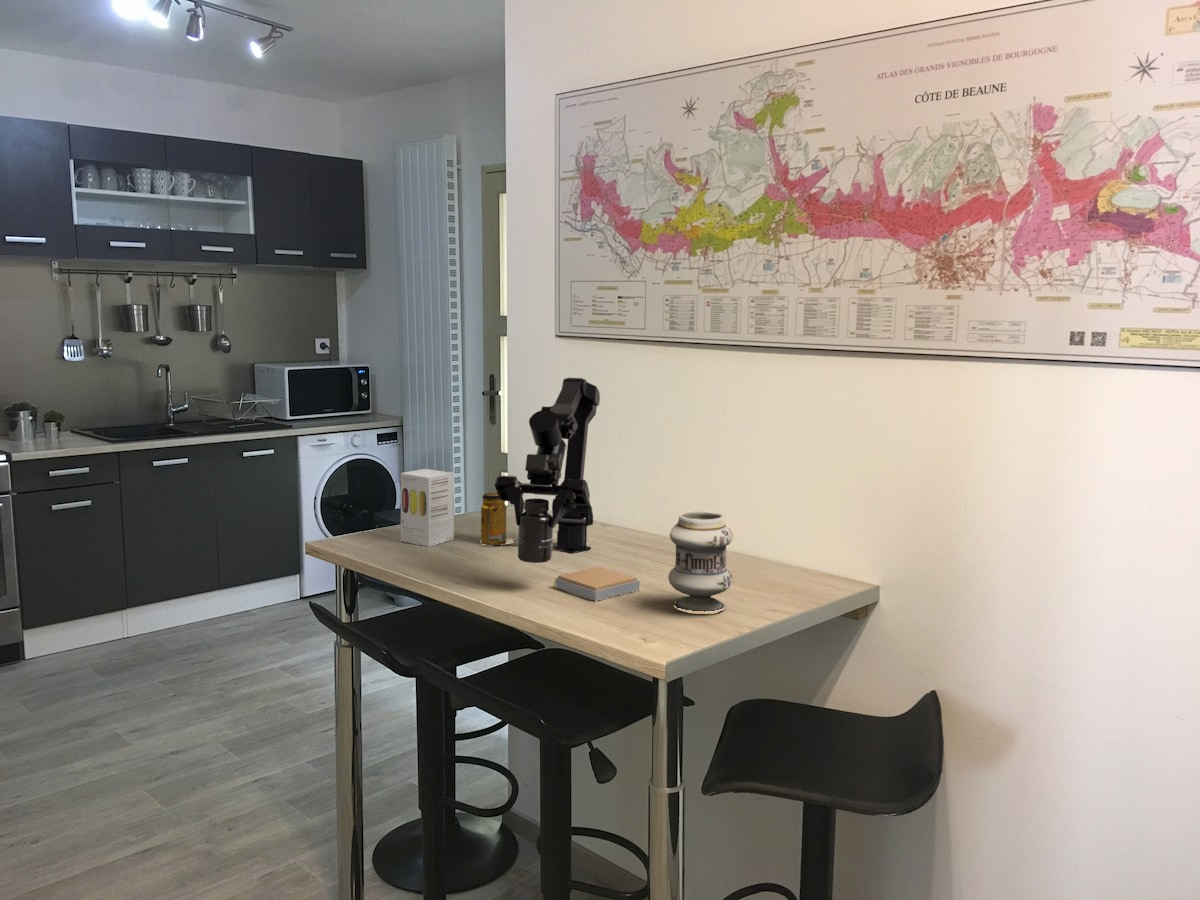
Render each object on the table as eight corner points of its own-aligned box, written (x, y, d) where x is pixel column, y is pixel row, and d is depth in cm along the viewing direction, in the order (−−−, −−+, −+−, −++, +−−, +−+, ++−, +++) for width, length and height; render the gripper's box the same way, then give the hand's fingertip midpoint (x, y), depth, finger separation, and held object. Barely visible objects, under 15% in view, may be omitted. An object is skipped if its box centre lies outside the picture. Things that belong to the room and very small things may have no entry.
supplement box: (399, 541, 225) (398, 472, 222) (425, 534, 232) (425, 467, 230) (429, 547, 220) (429, 476, 217) (455, 540, 227) (455, 471, 225)
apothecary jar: (668, 596, 184) (671, 506, 182) (729, 599, 183) (733, 509, 181) (666, 615, 172) (669, 519, 170) (732, 618, 171) (736, 522, 169)
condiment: (477, 540, 228) (477, 491, 226) (512, 538, 230) (512, 490, 228) (481, 547, 221) (482, 497, 219) (517, 545, 223) (517, 496, 221)
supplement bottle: (549, 564, 183) (551, 504, 182) (515, 562, 184) (516, 503, 182) (553, 555, 190) (555, 497, 188) (520, 553, 191) (521, 496, 189)
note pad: (597, 577, 197) (597, 565, 197) (639, 590, 188) (639, 577, 188) (553, 587, 189) (553, 575, 188) (595, 601, 180) (595, 588, 179)
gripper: (497, 436, 189) (480, 500, 180) (587, 440, 186) (575, 505, 176) (508, 468, 198) (492, 530, 189) (594, 472, 194) (583, 536, 185)
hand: (534, 525), depth 185 cm, fingers closed on supplement bottle, 7 cm apart
